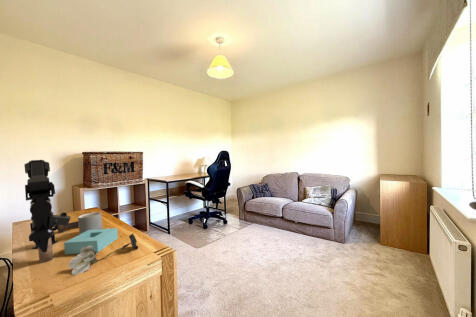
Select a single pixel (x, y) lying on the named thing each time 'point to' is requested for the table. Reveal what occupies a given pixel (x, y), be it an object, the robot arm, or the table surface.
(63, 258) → the table surface
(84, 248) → the artificial flower
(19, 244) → the table surface
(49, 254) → the walnut dowel
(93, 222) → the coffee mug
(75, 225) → the bolt
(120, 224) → the table surface
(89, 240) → the socket block
